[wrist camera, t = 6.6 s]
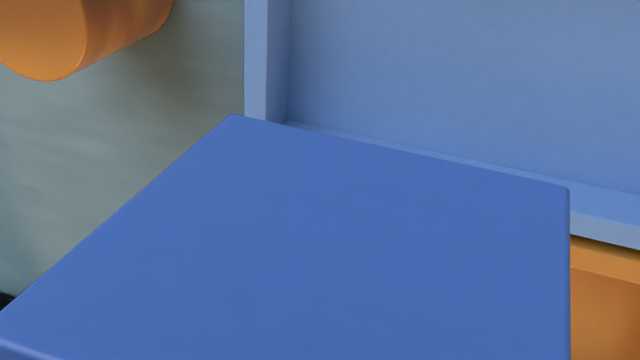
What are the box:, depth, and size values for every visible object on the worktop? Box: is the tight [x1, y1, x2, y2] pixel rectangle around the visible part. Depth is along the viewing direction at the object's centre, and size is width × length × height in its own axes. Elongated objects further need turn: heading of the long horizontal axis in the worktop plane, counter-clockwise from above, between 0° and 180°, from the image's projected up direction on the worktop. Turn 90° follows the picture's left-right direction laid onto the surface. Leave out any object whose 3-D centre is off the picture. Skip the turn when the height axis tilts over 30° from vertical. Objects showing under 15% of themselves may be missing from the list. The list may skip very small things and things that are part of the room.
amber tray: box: [570, 234, 640, 360], centre depth 23 cm, size 10×16×3 cm, turn 86°
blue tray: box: [244, 0, 640, 250], centre depth 18 cm, size 10×16×3 cm, turn 86°
